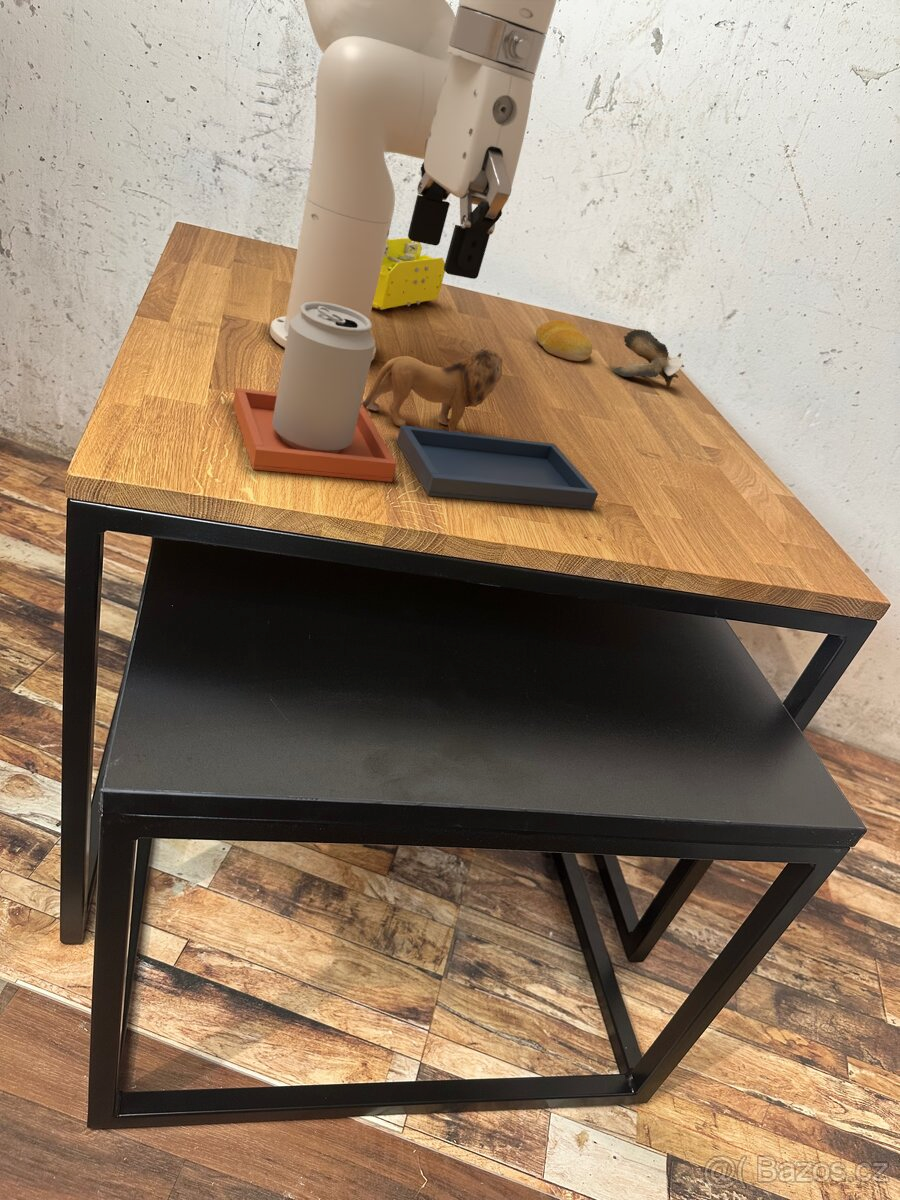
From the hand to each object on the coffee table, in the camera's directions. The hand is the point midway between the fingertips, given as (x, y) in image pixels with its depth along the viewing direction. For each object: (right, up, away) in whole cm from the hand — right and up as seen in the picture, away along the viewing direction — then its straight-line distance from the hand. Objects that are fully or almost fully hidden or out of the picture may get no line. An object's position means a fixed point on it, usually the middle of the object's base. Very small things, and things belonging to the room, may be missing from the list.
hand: (440, 258), depth 80 cm
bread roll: (+17, +6, +50) cm, 54 cm away
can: (-12, -17, 0) cm, 21 cm away
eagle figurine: (+30, +1, +50) cm, 58 cm away
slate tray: (+5, -19, +6) cm, 21 cm away
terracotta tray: (-12, -17, 0) cm, 21 cm away
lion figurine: (-2, -13, +12) cm, 18 cm away
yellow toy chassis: (-7, +12, +47) cm, 49 cm away
